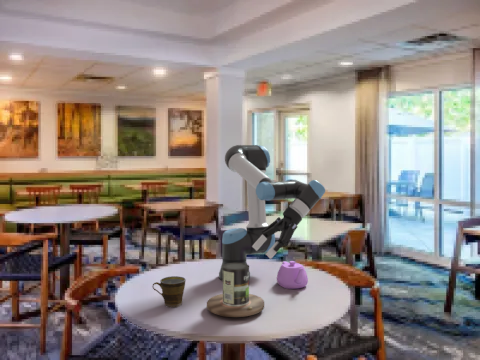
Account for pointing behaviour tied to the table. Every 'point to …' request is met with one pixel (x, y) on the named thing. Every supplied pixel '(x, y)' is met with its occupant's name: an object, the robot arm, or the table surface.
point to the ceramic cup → (172, 290)
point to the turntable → (221, 309)
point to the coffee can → (235, 284)
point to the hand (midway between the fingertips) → (260, 252)
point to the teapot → (292, 275)
